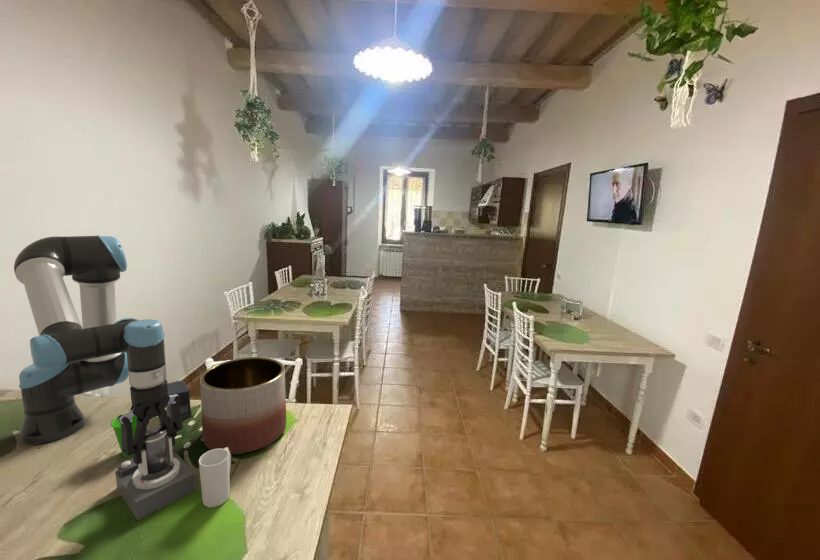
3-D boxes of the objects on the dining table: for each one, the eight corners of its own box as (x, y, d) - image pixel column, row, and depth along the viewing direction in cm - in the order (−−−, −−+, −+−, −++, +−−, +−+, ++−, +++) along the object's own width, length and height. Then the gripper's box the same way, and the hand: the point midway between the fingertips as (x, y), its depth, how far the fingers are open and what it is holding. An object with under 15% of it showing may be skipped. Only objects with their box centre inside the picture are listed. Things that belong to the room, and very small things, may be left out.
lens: (138, 469, 93) (135, 433, 91) (162, 456, 98) (159, 423, 96) (151, 477, 90) (147, 441, 88) (174, 464, 95) (171, 429, 93)
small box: (164, 410, 133) (162, 383, 131) (185, 404, 137) (183, 379, 135) (170, 423, 125) (168, 395, 123) (192, 416, 129) (190, 389, 128)
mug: (220, 510, 90) (218, 467, 88) (195, 507, 91) (192, 464, 89) (242, 481, 100) (241, 442, 98) (219, 478, 101) (217, 439, 99)
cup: (132, 464, 105) (128, 429, 103) (106, 458, 107) (102, 424, 105) (159, 445, 114) (156, 413, 112) (135, 440, 115) (131, 408, 113)
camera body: (117, 488, 96) (114, 463, 94) (172, 463, 106) (170, 440, 105) (137, 520, 86) (134, 494, 85) (196, 489, 96) (194, 465, 95)
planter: (286, 408, 137) (285, 354, 134) (286, 450, 114) (285, 385, 110) (211, 417, 129) (208, 359, 125) (194, 464, 106) (189, 395, 102)
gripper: (112, 402, 80) (122, 494, 84) (194, 372, 96) (200, 450, 100) (95, 393, 83) (106, 482, 88) (178, 366, 99) (183, 442, 104)
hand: (156, 465), depth 94 cm, fingers closed on lens, 5 cm apart
